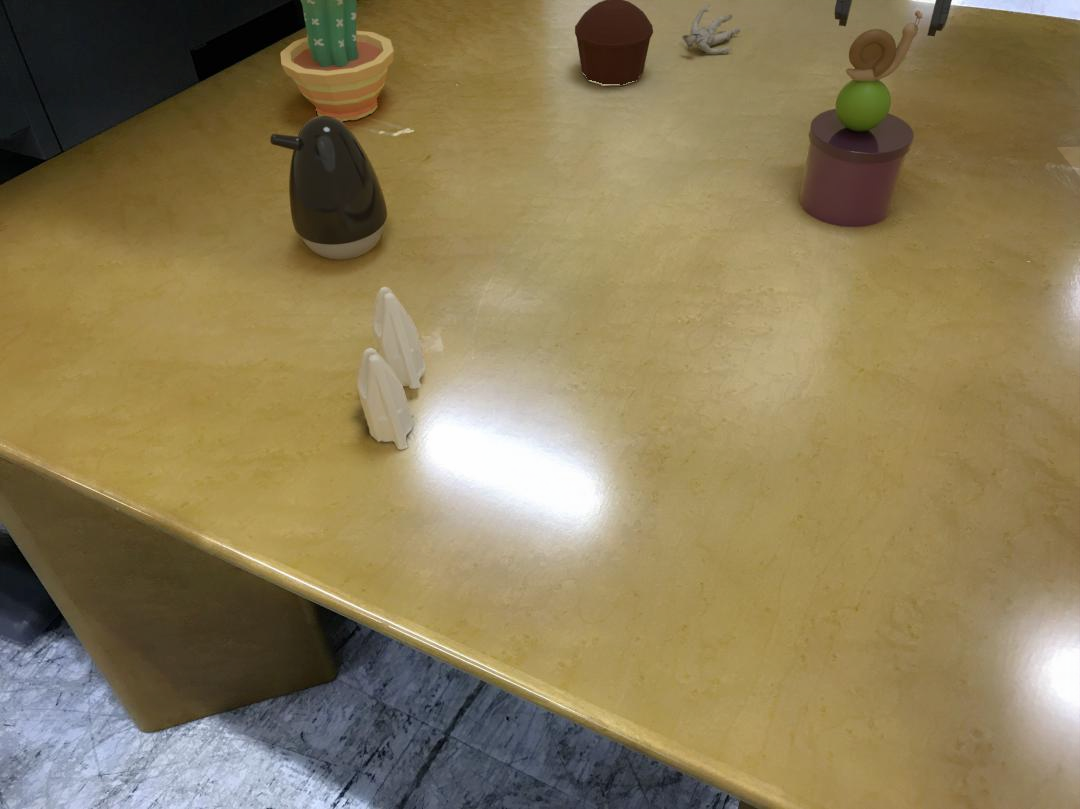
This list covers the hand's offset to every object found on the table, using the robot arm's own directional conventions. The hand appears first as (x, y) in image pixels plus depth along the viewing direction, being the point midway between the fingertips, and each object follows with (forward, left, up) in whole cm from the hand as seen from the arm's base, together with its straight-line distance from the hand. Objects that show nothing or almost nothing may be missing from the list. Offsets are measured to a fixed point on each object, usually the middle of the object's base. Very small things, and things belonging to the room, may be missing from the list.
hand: (886, 27), depth 89 cm
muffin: (+30, -35, -21) cm, 51 cm away
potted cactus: (+66, -20, -21) cm, 72 cm away
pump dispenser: (+55, +14, -21) cm, 61 cm away
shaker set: (+42, +38, -21) cm, 61 cm away
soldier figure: (+16, -47, -21) cm, 54 cm away
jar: (0, +1, -21) cm, 21 cm away
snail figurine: (0, +1, -10) cm, 10 cm away
